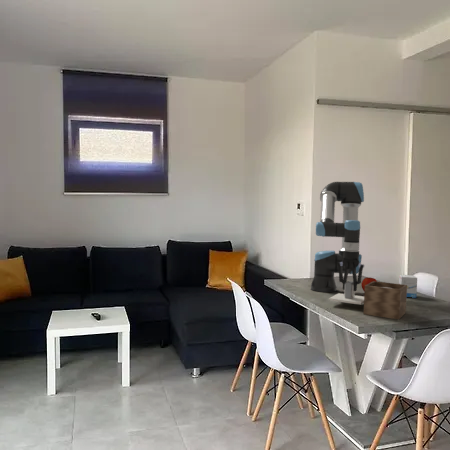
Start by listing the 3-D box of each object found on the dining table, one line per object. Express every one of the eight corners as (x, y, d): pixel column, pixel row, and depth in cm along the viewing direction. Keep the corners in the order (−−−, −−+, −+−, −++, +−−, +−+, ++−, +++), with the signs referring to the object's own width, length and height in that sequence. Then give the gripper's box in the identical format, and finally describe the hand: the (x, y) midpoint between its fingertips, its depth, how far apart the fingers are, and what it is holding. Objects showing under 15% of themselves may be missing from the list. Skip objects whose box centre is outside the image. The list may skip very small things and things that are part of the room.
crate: (363, 314, 221) (364, 285, 220) (371, 307, 234) (373, 281, 234) (399, 319, 212) (400, 289, 212) (405, 312, 226) (407, 284, 225)
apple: (358, 295, 264) (359, 276, 264) (365, 293, 271) (366, 275, 270) (372, 298, 259) (373, 278, 258) (379, 296, 265) (380, 277, 264)
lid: (328, 300, 235) (329, 282, 235) (338, 295, 249) (339, 278, 249) (360, 304, 227) (361, 286, 227) (369, 299, 241) (369, 281, 240)
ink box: (416, 298, 262) (417, 277, 262) (400, 297, 264) (401, 276, 263) (413, 295, 271) (414, 275, 270) (398, 294, 272) (399, 274, 272)
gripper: (333, 250, 238) (331, 295, 239) (365, 252, 229) (363, 300, 231) (338, 248, 244) (336, 293, 245) (369, 251, 236) (367, 297, 237)
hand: (349, 296), depth 238 cm, fingers closed on lid, 3 cm apart
